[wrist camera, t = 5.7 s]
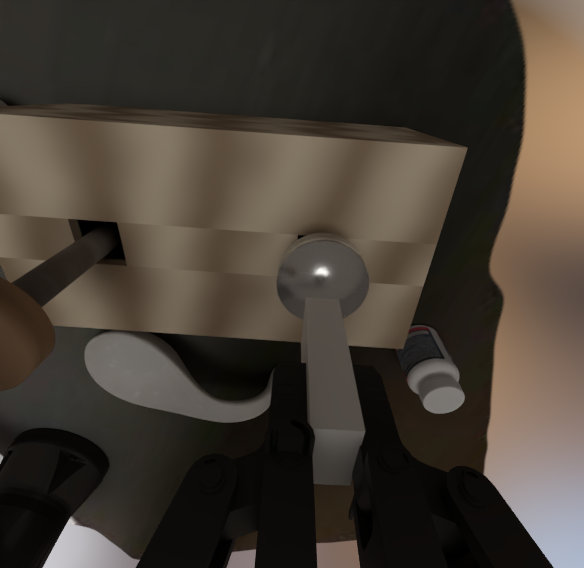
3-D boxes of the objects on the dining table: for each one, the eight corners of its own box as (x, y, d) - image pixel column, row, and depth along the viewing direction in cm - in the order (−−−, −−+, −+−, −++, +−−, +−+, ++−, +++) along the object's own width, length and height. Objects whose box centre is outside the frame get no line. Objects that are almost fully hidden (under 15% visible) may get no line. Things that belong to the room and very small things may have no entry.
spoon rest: (102, 373, 44) (69, 419, 38) (94, 305, 38) (53, 346, 32) (271, 402, 46) (266, 450, 40) (289, 342, 40) (286, 387, 34)
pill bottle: (384, 345, 39) (404, 405, 32) (413, 316, 37) (442, 374, 29) (417, 362, 41) (443, 424, 33) (447, 335, 38) (483, 395, 31)
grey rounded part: (285, 233, 30) (274, 320, 18) (288, 179, 28) (278, 240, 16) (338, 236, 30) (360, 325, 19) (346, 183, 28) (377, 247, 16)
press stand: (111, 254, 34) (27, 323, 24) (73, 103, 27) (-71, 108, 16) (372, 272, 34) (403, 349, 24) (404, 127, 27) (467, 147, 17)
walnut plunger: (102, 250, 25) (-74, 386, 13) (85, 184, 22) (-153, 283, 11) (166, 254, 25) (47, 395, 13) (157, 189, 22) (-3, 293, 11)
